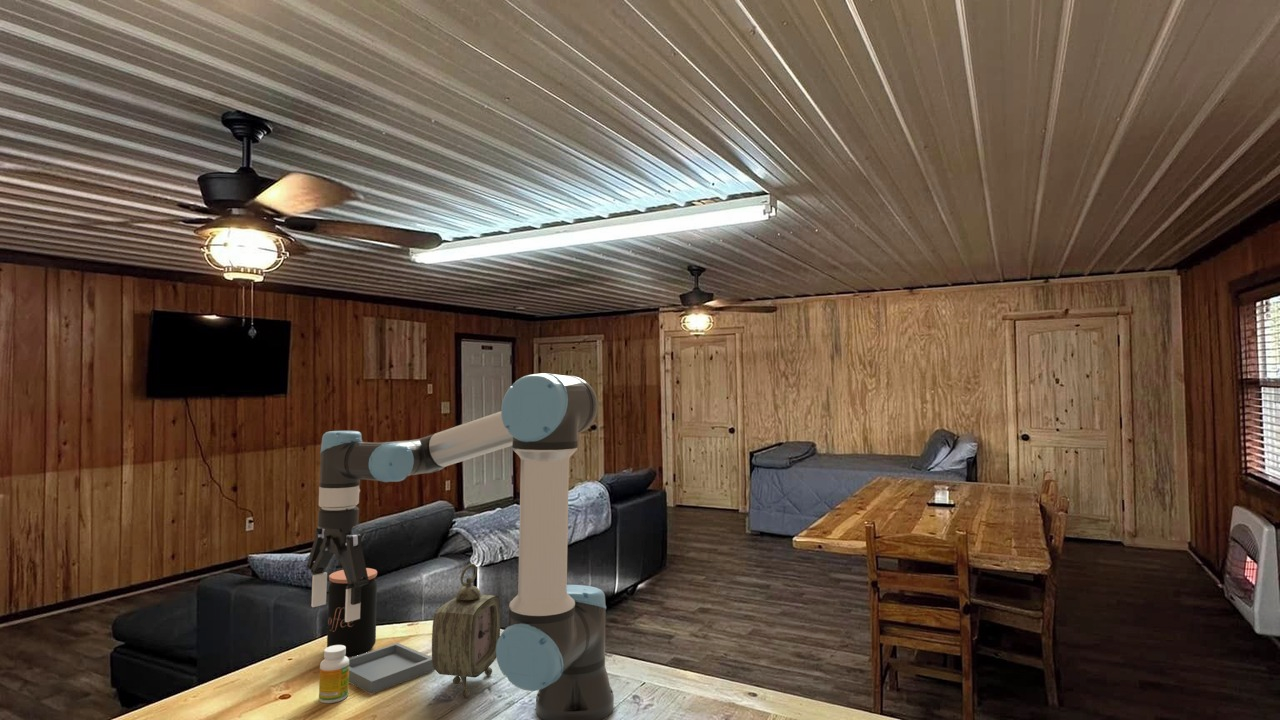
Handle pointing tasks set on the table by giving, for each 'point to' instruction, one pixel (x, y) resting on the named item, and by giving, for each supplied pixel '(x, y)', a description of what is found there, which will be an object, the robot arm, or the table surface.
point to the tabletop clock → (466, 633)
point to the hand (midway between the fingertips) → (335, 612)
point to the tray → (387, 667)
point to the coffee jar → (357, 632)
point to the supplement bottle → (334, 675)
